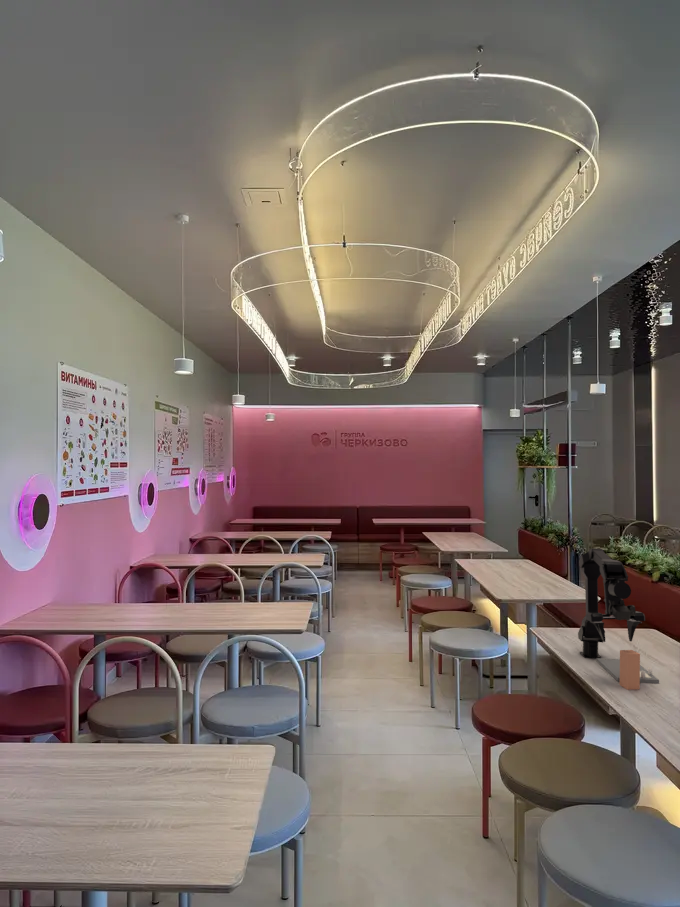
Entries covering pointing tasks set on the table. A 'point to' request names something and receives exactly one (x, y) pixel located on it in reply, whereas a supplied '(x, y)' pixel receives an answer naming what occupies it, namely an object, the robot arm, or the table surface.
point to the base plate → (614, 669)
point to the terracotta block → (629, 669)
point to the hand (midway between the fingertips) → (617, 641)
